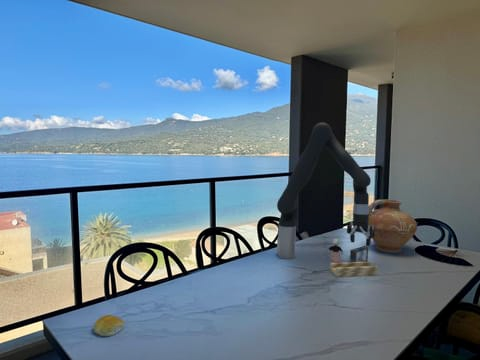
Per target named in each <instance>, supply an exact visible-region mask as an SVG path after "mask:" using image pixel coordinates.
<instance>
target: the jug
mask: <svg viewBox="0 0 480 360" xmlns="http://www.w3.org/2000/svg"><path fill="white" fill-rule="evenodd" d="M400 205H402V201H401V200H398V199H376V200H374V201H372V202H371V203H369V222H368V225H369V226H374V227H375V237H374V238H371V240H373V242H374V243H375V244H376V249H377V250H379V251H380V252H384V253H390V254H391V253H393V254H396V253H401V252H402V251H401V250H402V249H401V248H402V247H404V246H405V245H406V244H407V243H408V242H409V241H410V240H411V239H412V238H413V237H414V235H415V234H416V232H417V229H418V224H417V221H416V220H415V218H413V216H412V215H410V214H409V213H407V212H405V211H404V210H401V209H400ZM377 206H382V207H381V208H378V209H375V207H377ZM374 209H375V210H374ZM368 231H369V234H370V230H369V228H368Z"/></svg>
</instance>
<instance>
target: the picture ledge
mask: <svg viewBox="0 0 480 360" xmlns="http://www.w3.org/2000/svg"><path fill="white" fill-rule="evenodd" d="M329 271H330V273H332V274H333V275H334V276H335V277H337V278H344V277H345V278H346V277H366V276H367V277H368V276H370V277H371V276H378V275H379V266H377V265H372V262H371V261H368V262H350V261H349V262H340V263H337V262H336V263H332V262H330V263H329Z"/></svg>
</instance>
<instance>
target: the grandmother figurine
mask: <svg viewBox="0 0 480 360" xmlns="http://www.w3.org/2000/svg"><path fill="white" fill-rule="evenodd" d="M339 243H340V241H339V239H338V238H334V239H333V240H332V244H333V245H332V246H330V247H329V248H328V250H327V253H330V252H331V251H332V252H331V263H341V260H340V259H341V257H340V254H341V255H344V251H343V249H342V247H340V246H339Z"/></svg>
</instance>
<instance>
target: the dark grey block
mask: <svg viewBox="0 0 480 360" xmlns="http://www.w3.org/2000/svg"><path fill="white" fill-rule="evenodd" d="M368 256H369V246H366V245H362V246H359V247H356V248H353V249H350V255H349V262H368V260H369V259H368V258H369V257H368Z"/></svg>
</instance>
